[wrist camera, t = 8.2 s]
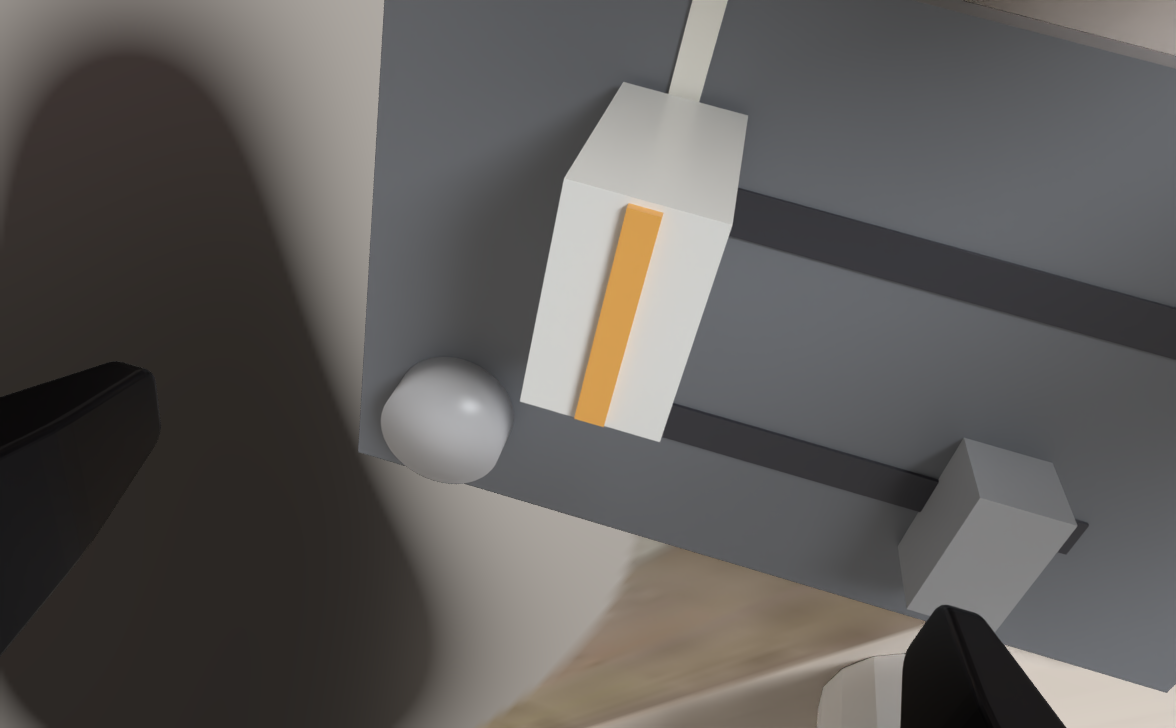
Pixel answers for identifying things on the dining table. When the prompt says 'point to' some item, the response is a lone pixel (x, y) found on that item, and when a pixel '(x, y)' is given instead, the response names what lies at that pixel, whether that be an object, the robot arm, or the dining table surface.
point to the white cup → (864, 695)
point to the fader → (634, 259)
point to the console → (818, 300)
